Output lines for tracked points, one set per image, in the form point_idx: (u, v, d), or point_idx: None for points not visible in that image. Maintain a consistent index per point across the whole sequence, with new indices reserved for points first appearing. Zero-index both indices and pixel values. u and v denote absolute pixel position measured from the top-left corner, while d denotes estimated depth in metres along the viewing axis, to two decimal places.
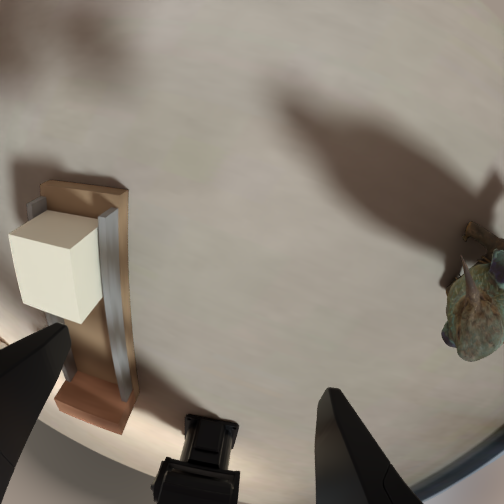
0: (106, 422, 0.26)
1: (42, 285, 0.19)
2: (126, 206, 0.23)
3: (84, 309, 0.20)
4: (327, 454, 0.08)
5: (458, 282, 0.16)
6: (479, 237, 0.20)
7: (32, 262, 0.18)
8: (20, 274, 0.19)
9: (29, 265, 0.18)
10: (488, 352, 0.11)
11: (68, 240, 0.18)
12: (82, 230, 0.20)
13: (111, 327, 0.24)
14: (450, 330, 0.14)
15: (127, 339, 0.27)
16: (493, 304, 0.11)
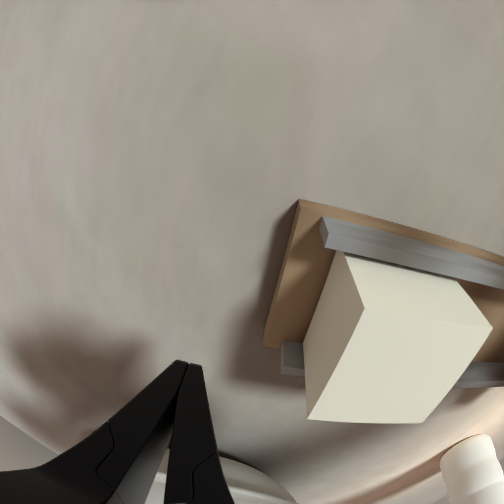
0: None
1: (411, 382, 0.11)
2: (325, 206, 0.15)
3: (472, 315, 0.10)
4: None
5: None
6: None
7: (367, 389, 0.11)
8: (379, 416, 0.12)
9: (371, 398, 0.11)
10: None
11: (350, 309, 0.10)
12: (342, 282, 0.12)
13: (500, 281, 0.12)
14: None
15: None
16: None
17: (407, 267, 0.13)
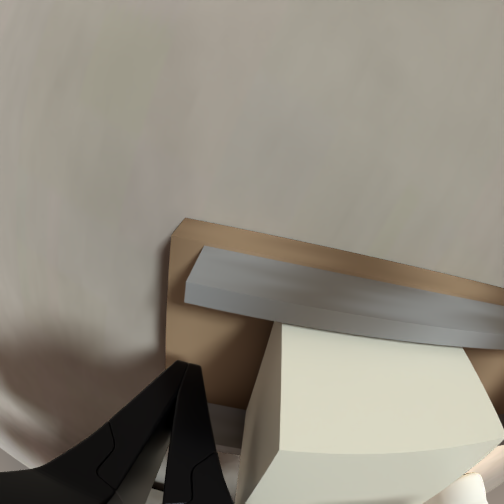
0: None
1: (373, 501, 0.06)
2: (220, 228, 0.10)
3: (479, 418, 0.05)
4: None
5: None
6: None
7: None
8: None
9: None
10: None
11: (271, 426, 0.06)
12: (274, 367, 0.07)
13: (500, 340, 0.07)
14: None
15: None
16: None
17: None
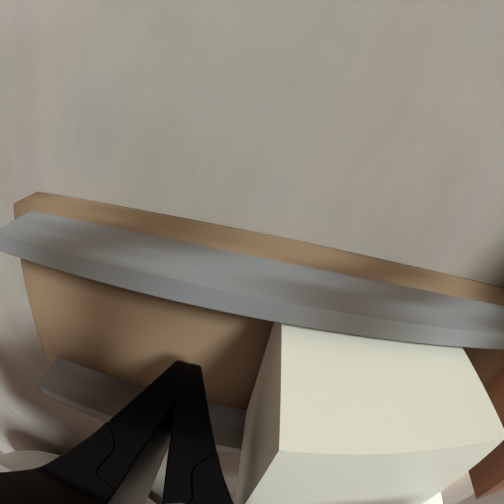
0: None
1: (373, 501, 0.06)
2: (55, 198, 0.10)
3: (479, 418, 0.05)
4: None
5: None
6: None
7: None
8: None
9: None
10: None
11: (271, 426, 0.06)
12: (273, 367, 0.07)
13: (321, 316, 0.07)
14: None
15: (411, 281, 0.09)
16: None
17: None
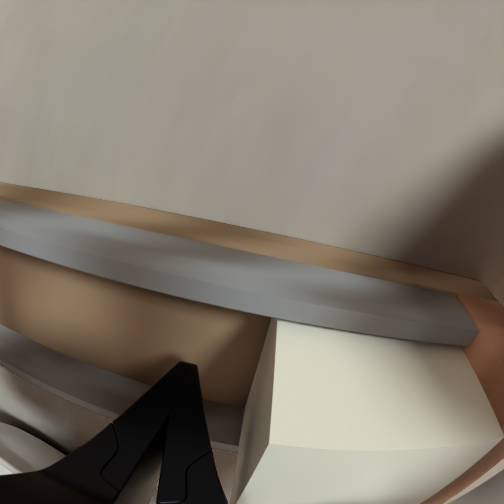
0: None
1: (369, 500, 0.06)
2: None
3: (476, 417, 0.05)
4: None
5: None
6: None
7: None
8: None
9: None
10: None
11: (263, 420, 0.06)
12: (268, 362, 0.08)
13: (93, 262, 0.07)
14: None
15: (232, 241, 0.09)
16: None
17: None
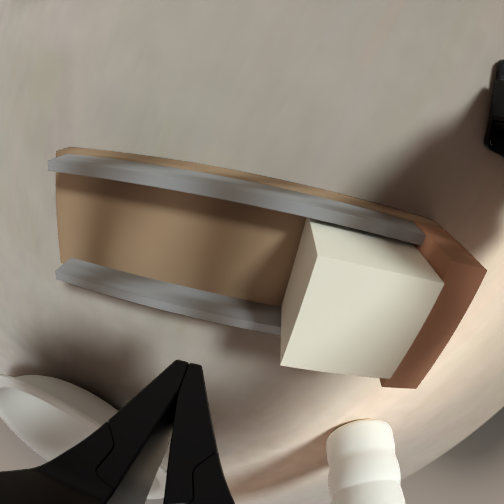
0: (448, 290, 0.12)
1: (370, 331, 0.13)
2: (81, 149, 0.17)
3: (424, 271, 0.12)
4: None
5: None
6: None
7: (330, 336, 0.13)
8: (346, 366, 0.14)
9: (335, 345, 0.14)
10: None
11: (310, 261, 0.13)
12: (307, 242, 0.15)
13: (211, 189, 0.14)
14: None
15: (283, 185, 0.16)
16: None
17: (367, 233, 0.15)
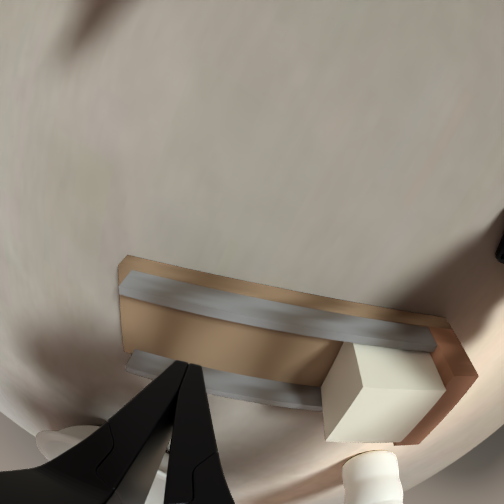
0: (448, 391, 0.16)
1: (391, 420, 0.16)
2: (142, 260, 0.20)
3: (433, 381, 0.16)
4: None
5: None
6: None
7: (363, 424, 0.17)
8: (371, 438, 0.17)
9: (365, 429, 0.17)
10: None
11: (354, 382, 0.16)
12: (350, 360, 0.18)
13: (280, 325, 0.18)
14: None
15: (331, 308, 0.20)
16: None
17: None
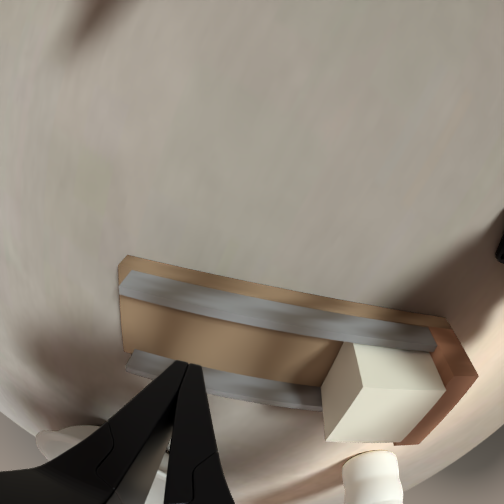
0: (448, 391, 0.16)
1: (391, 420, 0.16)
2: (142, 260, 0.20)
3: (433, 381, 0.16)
4: None
5: None
6: None
7: (363, 424, 0.17)
8: (371, 438, 0.17)
9: (365, 429, 0.17)
10: None
11: (354, 382, 0.16)
12: (350, 360, 0.18)
13: (280, 325, 0.18)
14: None
15: (331, 308, 0.20)
16: None
17: None
